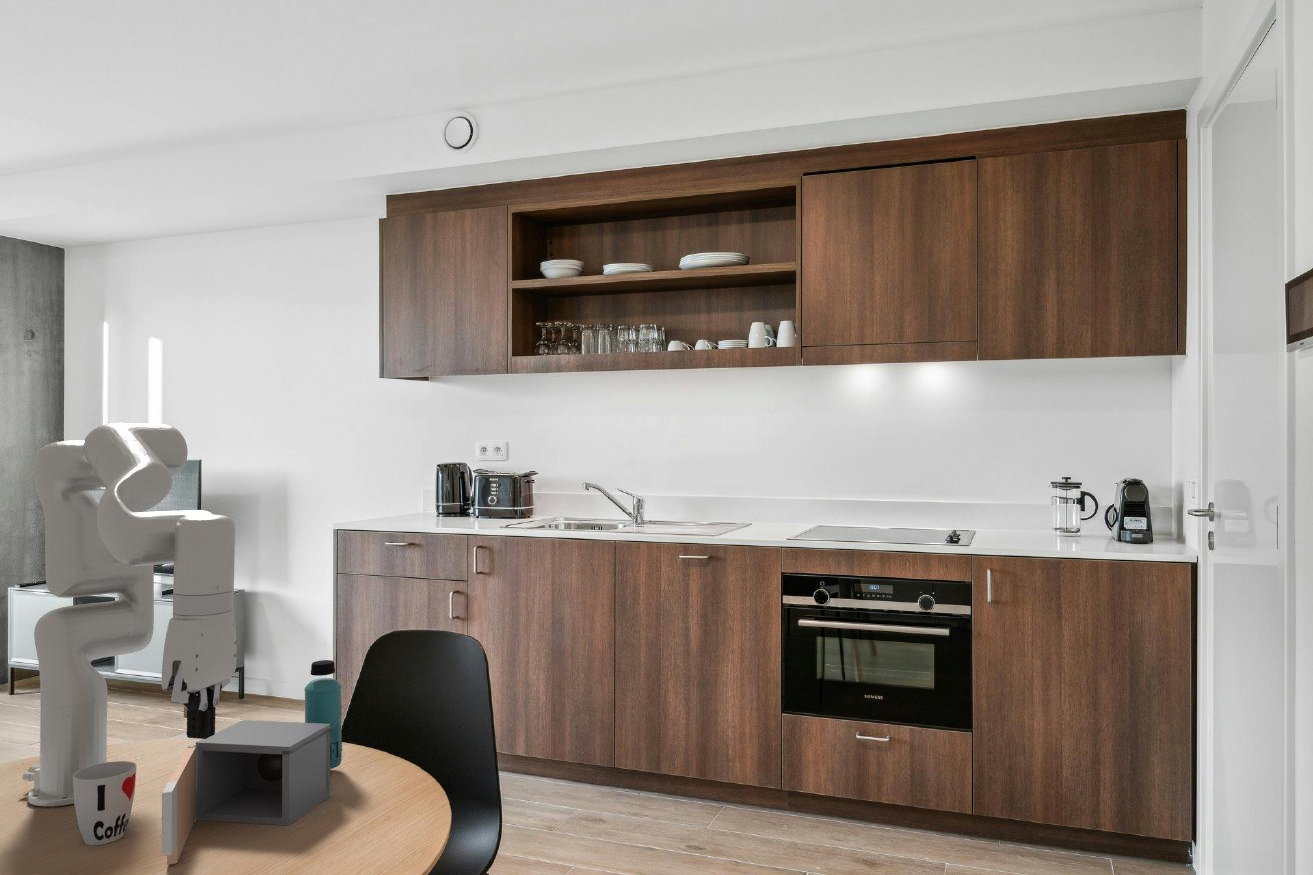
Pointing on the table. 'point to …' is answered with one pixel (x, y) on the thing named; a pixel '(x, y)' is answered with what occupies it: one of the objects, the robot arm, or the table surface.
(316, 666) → the beverage bottle
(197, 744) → the grey smooth box
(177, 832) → the door
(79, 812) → the cup
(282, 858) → the table surface
